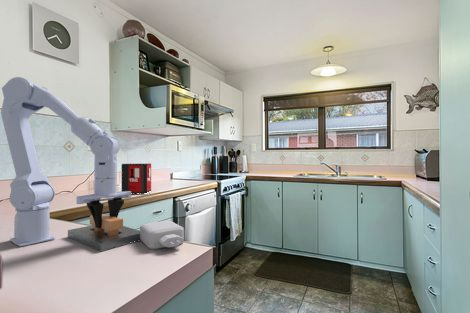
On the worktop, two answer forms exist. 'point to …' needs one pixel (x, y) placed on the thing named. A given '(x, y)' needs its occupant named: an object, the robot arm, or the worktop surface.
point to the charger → (161, 234)
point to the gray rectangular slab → (103, 237)
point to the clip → (109, 224)
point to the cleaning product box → (136, 178)
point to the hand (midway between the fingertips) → (105, 226)
